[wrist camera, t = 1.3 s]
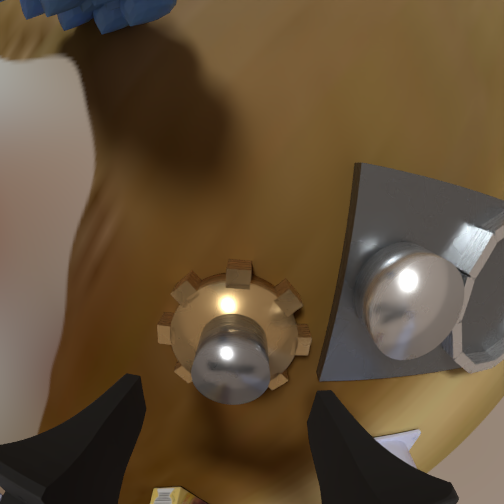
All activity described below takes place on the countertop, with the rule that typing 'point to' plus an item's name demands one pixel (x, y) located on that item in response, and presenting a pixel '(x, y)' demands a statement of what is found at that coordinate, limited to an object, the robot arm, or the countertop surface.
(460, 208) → the gear carrier
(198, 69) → the countertop surface
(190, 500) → the candy box
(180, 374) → the planet gear
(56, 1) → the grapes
